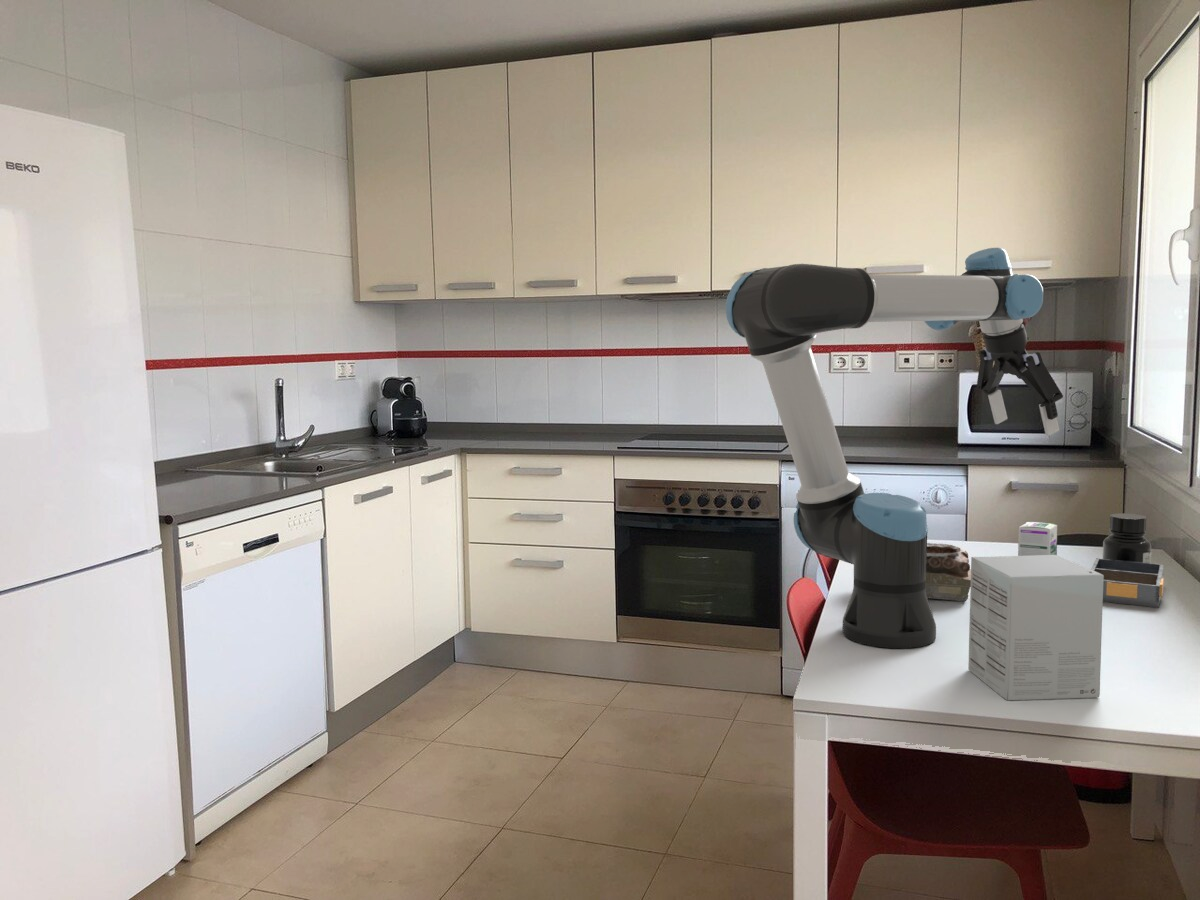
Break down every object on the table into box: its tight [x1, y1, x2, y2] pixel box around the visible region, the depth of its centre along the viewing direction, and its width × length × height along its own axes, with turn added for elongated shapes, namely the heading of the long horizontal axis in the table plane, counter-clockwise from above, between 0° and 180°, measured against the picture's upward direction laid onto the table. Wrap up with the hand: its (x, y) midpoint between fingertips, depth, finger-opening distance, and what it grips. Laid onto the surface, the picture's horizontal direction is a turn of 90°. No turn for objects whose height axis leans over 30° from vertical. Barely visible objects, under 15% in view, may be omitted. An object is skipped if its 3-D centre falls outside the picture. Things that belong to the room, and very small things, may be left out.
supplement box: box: [967, 554, 1104, 701], centre depth 136 cm, size 13×13×18 cm
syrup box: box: [1017, 521, 1058, 556], centre depth 180 cm, size 6×6×14 cm
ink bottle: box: [1102, 513, 1152, 563], centre depth 200 cm, size 10×9×12 cm
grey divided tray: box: [1090, 557, 1165, 608], centre depth 185 cm, size 20×12×4 cm, turn 148°
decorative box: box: [926, 542, 971, 602], centre depth 183 cm, size 13×20×10 cm, turn 64°
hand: (1026, 427), depth 188 cm, fingers open, 13 cm apart
